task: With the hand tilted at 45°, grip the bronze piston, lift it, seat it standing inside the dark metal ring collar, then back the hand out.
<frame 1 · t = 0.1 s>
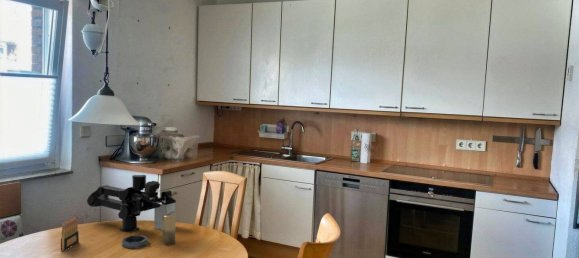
hand: (168, 203, 192), 17 cm above the table, tool horizontal, fingers open, 9 cm apart
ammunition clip: (69, 246, 182), on the table
ring collar: (135, 244, 186), on the table
supplement box: (164, 227, 211), on the table
bronze piston: (168, 243, 189), on the table
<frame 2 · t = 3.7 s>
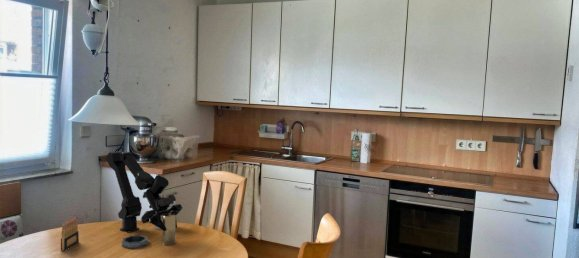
hand: (171, 229, 187), 7 cm above the table, tool tilted 45°, fingers closed on bronze piston, 5 cm apart
bronze piston: (168, 243, 189), on the table, touching gripper
everything else where it was.
when the fingers open (8 cm above the table, at t = 9.1 s): bronze piston stays where it is, resting on ring collar.
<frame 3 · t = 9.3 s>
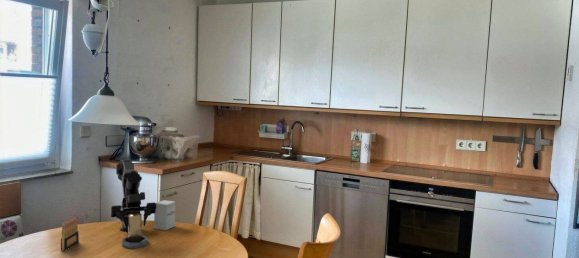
hand: (135, 226, 184), 8 cm above the table, tool tilted 45°, fingers open, 7 cm apart
bronze piston: (135, 242, 186), point 1 cm above the table, touching ring collar
everything else where it was.
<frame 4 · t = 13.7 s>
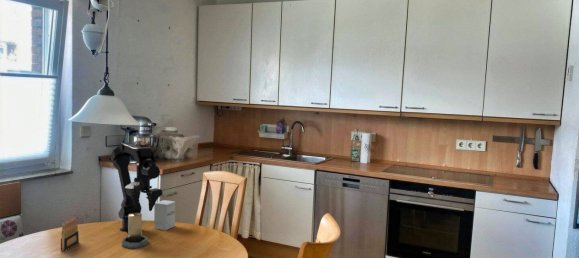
hand: (143, 209, 194), 13 cm above the table, tool pointing down, fingers open, 9 cm apart
nothing on the table moved.
at the end: bronze piston 0.1 cm off-centre on the ring collar, point 0.5 cm above the ring collar's base; bronze piston tilted 0°; the gripper is holding nothing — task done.
